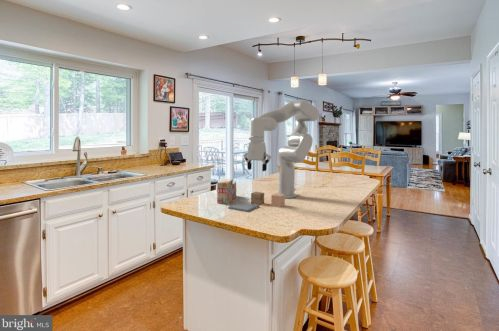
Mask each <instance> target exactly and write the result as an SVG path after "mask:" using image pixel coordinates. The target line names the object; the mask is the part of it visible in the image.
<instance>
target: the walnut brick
mask: <svg viewBox="0 0 499 331" xmlns="http://www.w3.org/2000/svg"><path fill="white" fill-rule="evenodd" d="M250 204H255V205H259V206H260V205H263V204H265V192H262V191H260V192H259V191H254V192H251V193H250Z"/></svg>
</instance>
